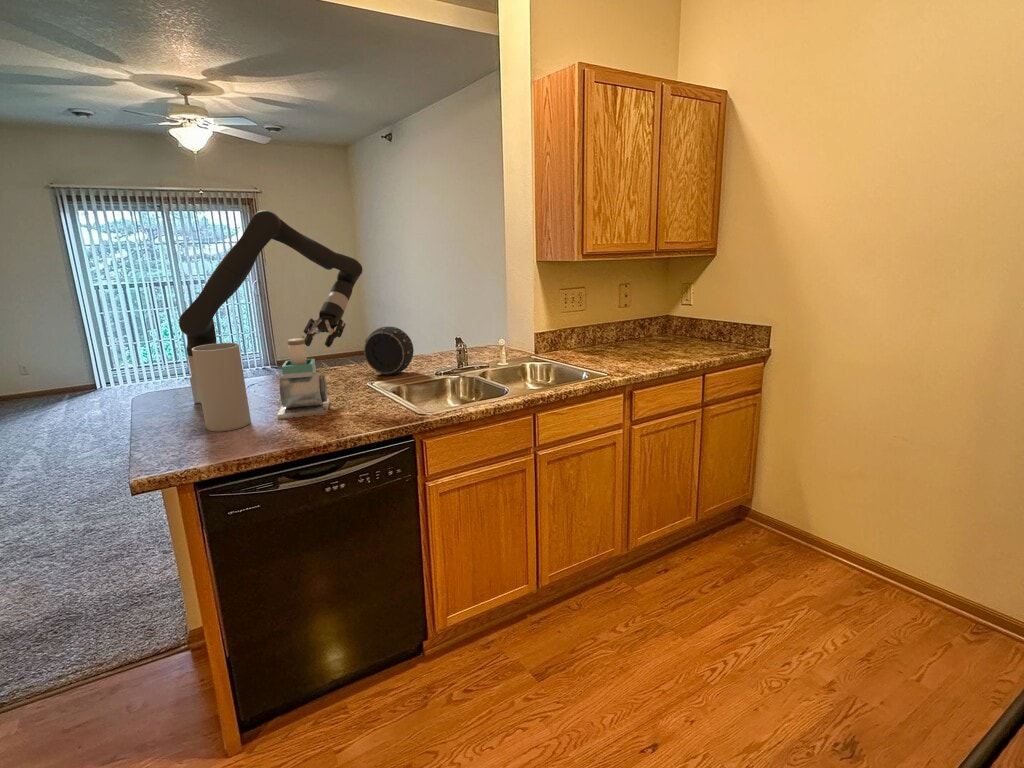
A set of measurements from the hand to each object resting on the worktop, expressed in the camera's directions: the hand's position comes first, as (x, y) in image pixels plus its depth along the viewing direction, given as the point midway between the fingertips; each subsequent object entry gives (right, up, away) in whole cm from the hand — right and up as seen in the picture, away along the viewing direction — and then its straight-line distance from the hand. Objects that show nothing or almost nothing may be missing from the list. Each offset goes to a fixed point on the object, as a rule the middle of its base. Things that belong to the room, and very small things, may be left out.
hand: (316, 345), depth 185 cm
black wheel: (+16, -9, +44) cm, 48 cm away
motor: (-3, -22, -3) cm, 23 cm away
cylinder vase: (-21, -26, -17) cm, 38 cm away
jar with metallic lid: (-3, -8, -7) cm, 11 cm away
